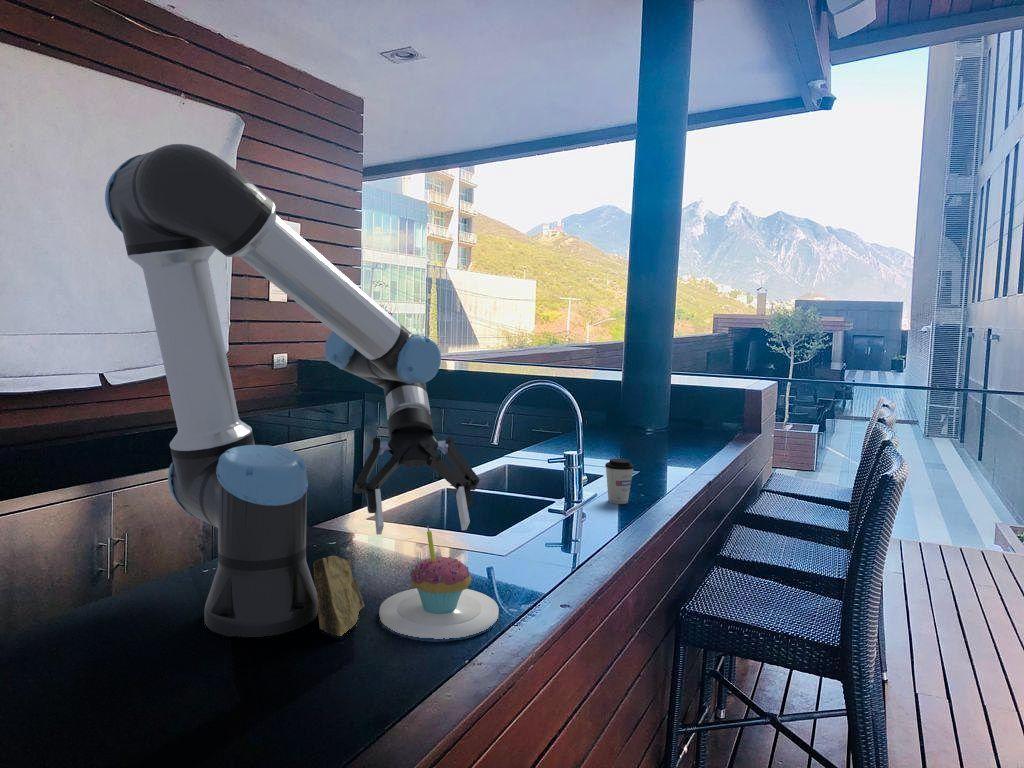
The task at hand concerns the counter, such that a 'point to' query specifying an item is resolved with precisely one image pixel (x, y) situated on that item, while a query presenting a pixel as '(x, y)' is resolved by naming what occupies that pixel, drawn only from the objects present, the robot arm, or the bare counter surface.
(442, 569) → the cupcake
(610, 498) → the coffee cup
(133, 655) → the counter surface
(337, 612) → the rock
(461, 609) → the plate
